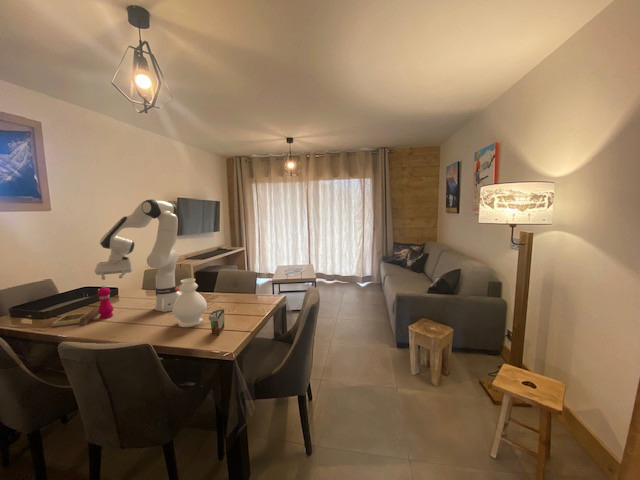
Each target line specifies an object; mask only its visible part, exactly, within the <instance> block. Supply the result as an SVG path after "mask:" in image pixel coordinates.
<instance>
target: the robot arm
mask: <svg viewBox="0 0 640 480" xmlns="http://www.w3.org/2000/svg"><path fill="white" fill-rule="evenodd" d="M177 211H178V207H177V206H176V204H175V203H173V202H170V201H164V200H161V199H146V200H144V201H142V202H141V203H139V204H138V205H137V206H136V208H135V209H134V211H133V212H132V213H131V214H130V215H127V216H123V217H121V218H120V219H119V220H118V221H117V222H116V223H115V224H114V226H113V227H111V229H110V230H109V231H108V232H106V233H105V234H104V235H102V236H101V238H100V241H99V245H100V246H101V247H102V248H103V249H108V250H110V254H109V256H108V261H101V262H98V263H97V264H96V267H95V269H94V274H95V275H97V276H101V278H100V279H101V280H102V281H103V280H106V278H107V277H106V276H105V275H114V274H119V275H118V278H119V279H123V278H124V276H125V275H126V273H127V274H128V273H132V272H133V270H134V266H133V261H132V259H131V258H130V257H129V256H126V255H129V254H131V253H133V251H134V248H135V242H134V240H133V239H130V238H127V237H122V236H119V235H118V234H119V233H120V232H121V231H122V230H123V229H126V228H127V229H128V228H133V229H134V228H135V229H141V228H146V227H147V226H148V225H149V224H150V223H151V222H152V220H153V219H154V220H155V219H157V220H158V227H157V233H156V240H155V242H154V244H153V247H152V250H151V251H150V254H149V255H148V256H147V258H146V264H147V265H148V267H150V268H152V269H157V272H156V274H155V277H154V278H155V290H154V291H155V296H156V299H155V300H156V302H155V308H154V310H155V311H158V312H163V313H165V312H172V306H173V304H174V302H175V301H176V299H177V298H178V297H179V296H180V295H181V294H182V293H183V292H182V291H180V290H179V287H180V285H176V277H175V276H176V274H175V273H176V267H177V262H178V260H179V258H180V257H179V255H180V254H179V252H178V251H177V250H176V249H174V248H173V247H174V246H175V244H176V243H177V236H178V226H179V219H178V216H177V215H176V214H177Z"/></svg>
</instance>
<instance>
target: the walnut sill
mask: <svg viewBox="0 0 640 480" xmlns="http://www.w3.org/2000/svg"><path fill="white" fill-rule="evenodd" d="M98 309H99V306H96V307H94V308H93V309H92V310H90V311H88V312H89V313H87V312H86V313H87V314H86V315H85V316H83V317H82V318H80V324H79V325H80V326H81V327H82V326H83V327H84V326H86V325H89V323H91V321H93V320H94V319H95V318H97V317H98V316H100V314H99V313H98Z"/></svg>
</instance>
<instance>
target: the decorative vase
mask: <svg viewBox="0 0 640 480" xmlns="http://www.w3.org/2000/svg"><path fill="white" fill-rule="evenodd" d="M195 281H196V278H193V277H192V278H184V279H181V280H180V283H181V284H180V285H179V291H181V292H183V293H182V294H181V295H180V296H179V297H178V298H177V299H176V301H175V302H174V304H173V306H172V311H171V312H172V315H174V317H175V318H176V319H178V320H179V322H178V326H179V327H181V328H189V327H190V328H191V327H193V326H194V327H195V326H197V325H200V324H202V323H203V317H202V316H203V315H204V313H205V311H206V310H207V307H208V303H207V301H206V298H205V297H203V296H202V295H201V294H200V293H198V291H196V290H197V289H198V288H199V285H198V284H197V283H196V282H195Z"/></svg>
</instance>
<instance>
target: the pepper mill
mask: <svg viewBox="0 0 640 480" xmlns="http://www.w3.org/2000/svg"><path fill="white" fill-rule="evenodd" d="M110 294H111V289H110V288H109V287H106V285H104V284H103V285H101V288H99V289H98V290H97V295H98V297H99V298H98V299H99V300H100V303H99V306H98V307H99V309H98V313H99V319H100V320H106V319H109V318H112V317H114V314H113V311H114V305H112V304H111V301H110Z"/></svg>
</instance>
